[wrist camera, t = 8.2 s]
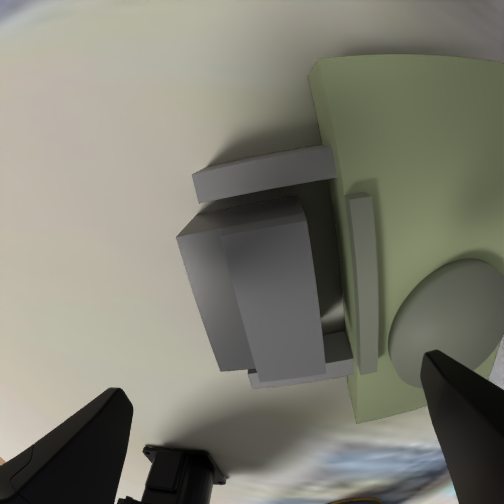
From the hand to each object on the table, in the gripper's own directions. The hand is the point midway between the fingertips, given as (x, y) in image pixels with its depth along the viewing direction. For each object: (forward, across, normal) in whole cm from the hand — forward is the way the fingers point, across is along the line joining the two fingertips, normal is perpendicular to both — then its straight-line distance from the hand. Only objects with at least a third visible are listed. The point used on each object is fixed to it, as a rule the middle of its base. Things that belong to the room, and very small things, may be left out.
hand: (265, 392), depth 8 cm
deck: (+8, -5, 0) cm, 10 cm away
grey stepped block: (+9, +1, 0) cm, 9 cm away
